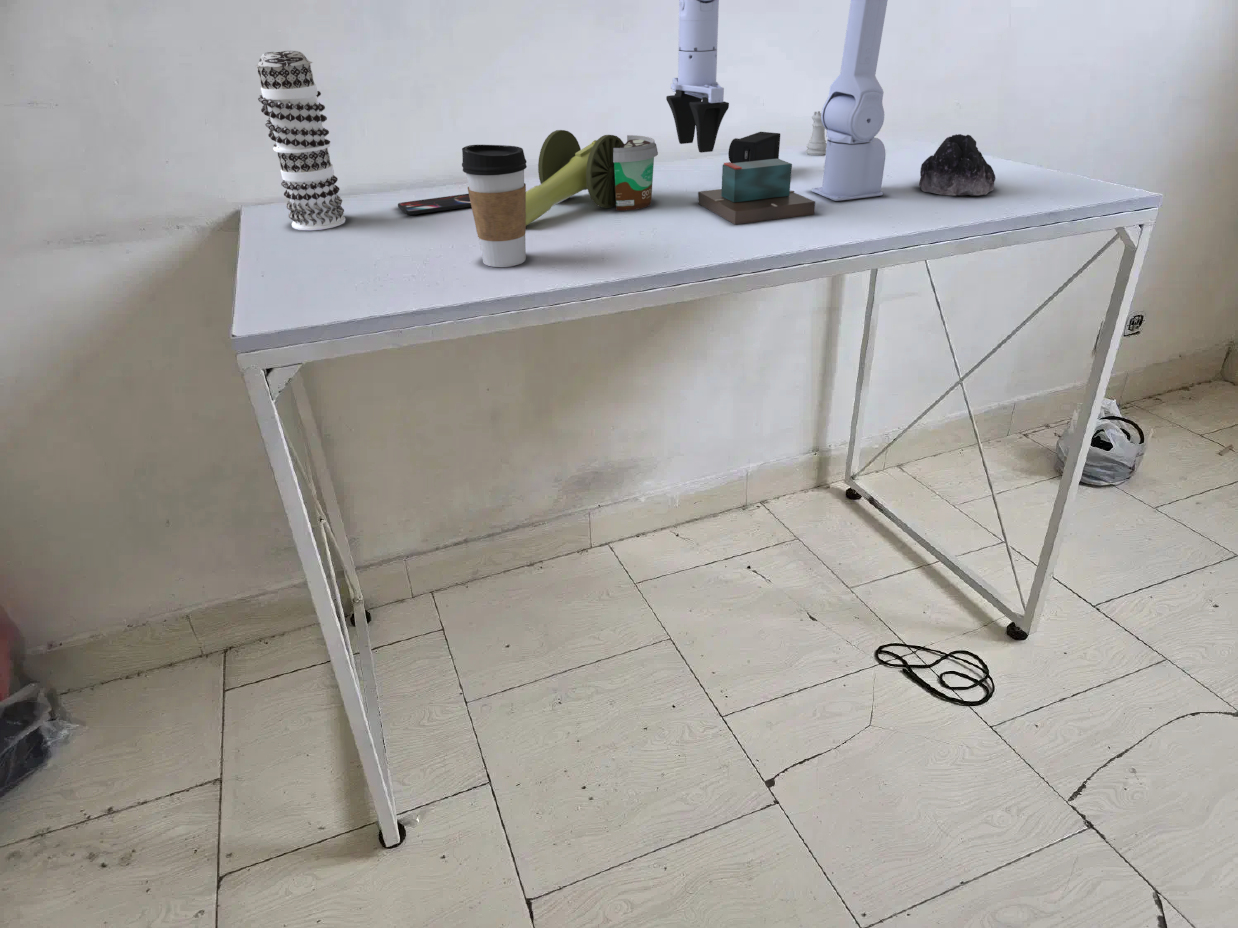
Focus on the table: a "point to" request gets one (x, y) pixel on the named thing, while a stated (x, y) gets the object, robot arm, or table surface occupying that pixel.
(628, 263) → the table surface
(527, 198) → the cannon
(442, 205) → the smartphone
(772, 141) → the digital camera
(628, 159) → the food container
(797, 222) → the table surface
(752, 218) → the clock
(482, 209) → the coffee cup
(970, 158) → the crystal cluster
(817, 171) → the table surface
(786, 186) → the teal block red stripe
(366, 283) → the table surface
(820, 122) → the white chess piece
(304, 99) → the white patterned cylinder
